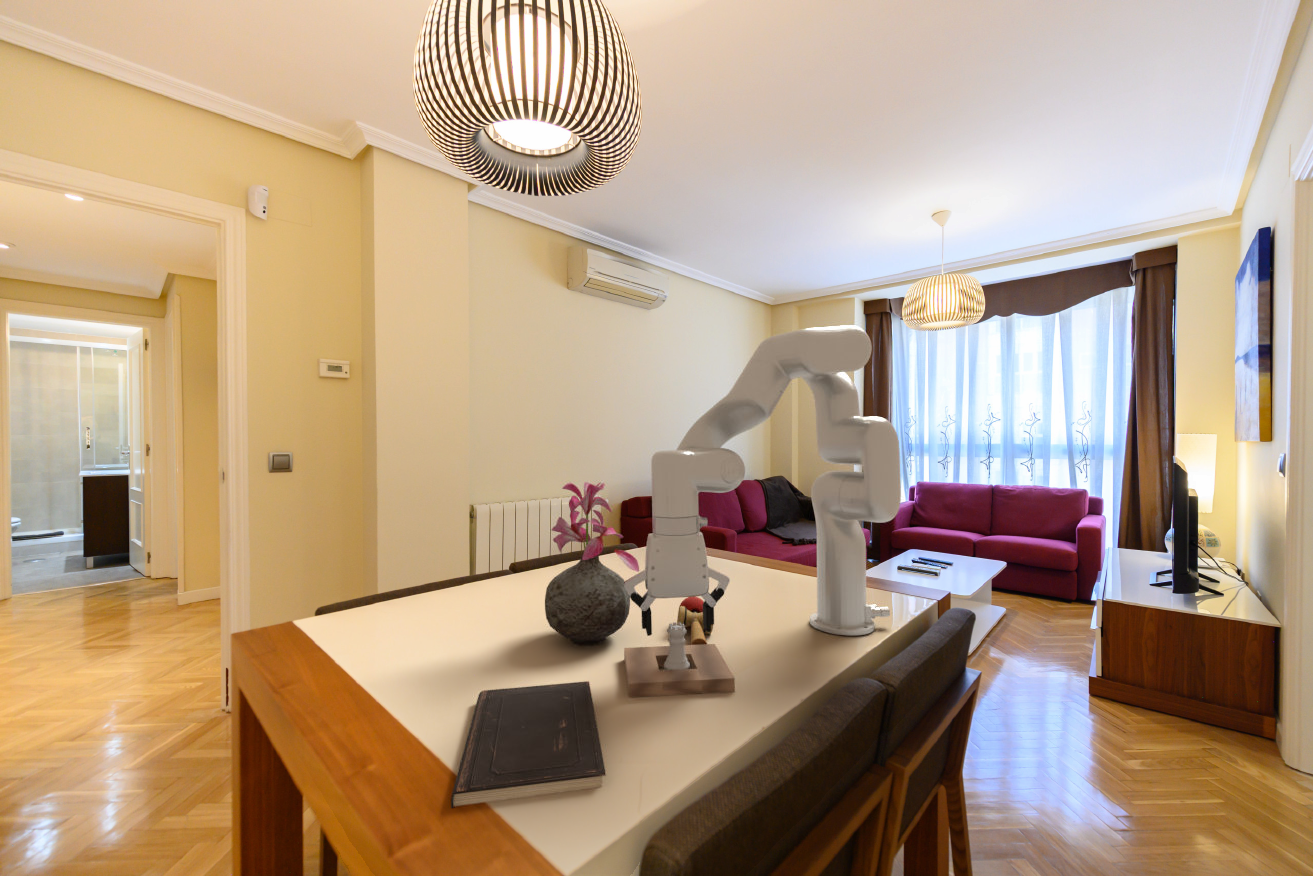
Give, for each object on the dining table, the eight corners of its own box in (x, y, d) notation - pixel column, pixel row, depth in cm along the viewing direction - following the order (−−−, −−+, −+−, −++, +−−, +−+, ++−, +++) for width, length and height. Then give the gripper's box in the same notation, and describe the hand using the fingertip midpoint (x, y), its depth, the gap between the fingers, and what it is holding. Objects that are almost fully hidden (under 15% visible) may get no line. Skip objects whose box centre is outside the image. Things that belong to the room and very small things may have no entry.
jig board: (714, 655, 95) (714, 643, 95) (734, 691, 81) (734, 678, 81) (624, 659, 94) (624, 648, 94) (628, 697, 80) (628, 683, 80)
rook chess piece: (662, 669, 90) (661, 621, 90) (688, 668, 90) (688, 620, 90) (664, 681, 85) (664, 630, 85) (692, 679, 86) (692, 629, 86)
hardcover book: (589, 696, 81) (589, 681, 81) (605, 793, 59) (605, 772, 59) (478, 706, 78) (478, 690, 78) (450, 814, 56) (450, 791, 56)
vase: (540, 629, 109) (539, 481, 110) (623, 620, 115) (622, 478, 115) (550, 660, 93) (549, 487, 94) (646, 648, 99) (645, 484, 99)
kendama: (725, 660, 97) (713, 615, 114) (719, 628, 96) (707, 587, 114) (682, 668, 97) (677, 621, 114) (676, 636, 96) (671, 593, 114)
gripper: (722, 520, 92) (724, 620, 93) (621, 524, 91) (623, 626, 91) (733, 527, 85) (735, 636, 85) (623, 532, 83) (626, 643, 83)
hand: (678, 630), depth 88 cm, fingers open, 9 cm apart
